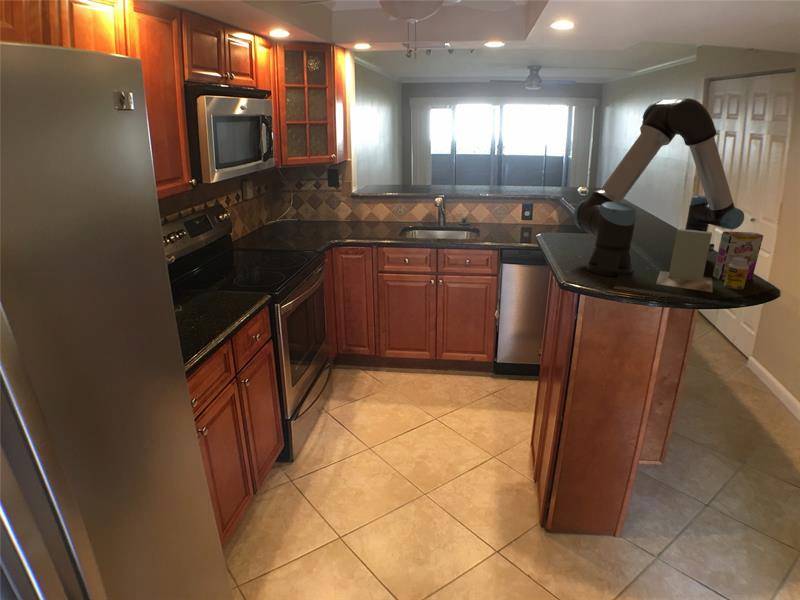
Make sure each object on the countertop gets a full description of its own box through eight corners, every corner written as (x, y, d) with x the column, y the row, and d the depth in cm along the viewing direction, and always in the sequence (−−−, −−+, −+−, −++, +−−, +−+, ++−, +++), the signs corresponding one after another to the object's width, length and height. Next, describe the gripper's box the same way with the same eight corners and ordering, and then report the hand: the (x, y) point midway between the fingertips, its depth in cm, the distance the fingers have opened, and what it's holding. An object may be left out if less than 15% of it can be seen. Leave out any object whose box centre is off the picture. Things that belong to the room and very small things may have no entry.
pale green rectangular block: (668, 277, 181) (677, 230, 176) (668, 275, 183) (677, 228, 178) (701, 282, 176) (712, 233, 171) (702, 279, 179) (712, 232, 174)
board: (655, 286, 174) (655, 283, 173) (659, 273, 189) (660, 270, 188) (711, 295, 166) (712, 292, 166) (711, 280, 182) (712, 277, 181)
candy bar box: (720, 282, 180) (730, 234, 174) (711, 278, 184) (721, 231, 179) (752, 283, 180) (764, 234, 175) (743, 278, 185) (754, 231, 179)
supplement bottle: (721, 290, 172) (728, 258, 169) (725, 286, 176) (731, 255, 173) (741, 293, 168) (748, 262, 165) (744, 289, 172) (752, 258, 169)
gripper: (712, 253, 199) (713, 268, 179) (673, 249, 205) (669, 262, 185) (716, 233, 196) (717, 246, 177) (676, 229, 202) (673, 241, 182)
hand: (693, 254), depth 181 cm, fingers closed
